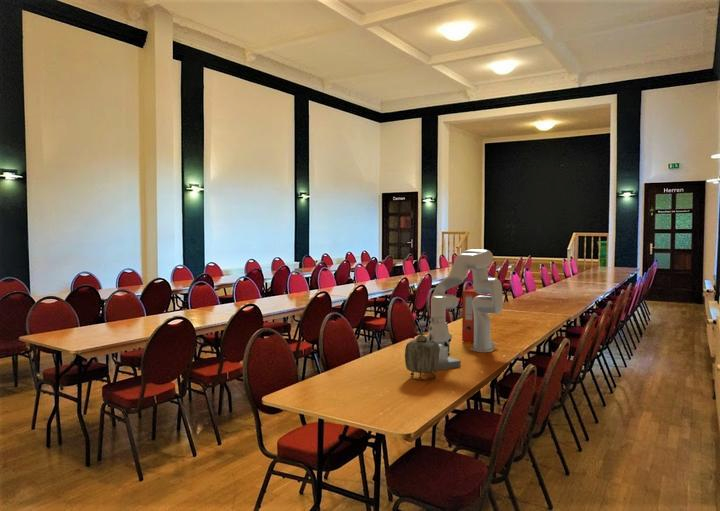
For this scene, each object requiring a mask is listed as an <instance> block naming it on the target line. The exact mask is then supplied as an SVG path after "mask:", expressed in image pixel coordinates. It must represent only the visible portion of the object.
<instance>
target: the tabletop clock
mask: <svg viewBox="0 0 720 511" xmlns="http://www.w3.org/2000/svg"><path fill="white" fill-rule="evenodd" d="M418 328H424V329H426V330H427V332H425V333H423V331H420V332H417V331H416V329H418ZM413 330H414V333H415V334H417V335H418V336H416V338H415V339H412V340H409V341H408V343H406V345H405V349H404V363H405V368H406V370H408V371H409V372H410V376H412V377H413V376H414V375H415V373H418V374H419V376H418V380H420V381H422V380H423V377H422V374H431V377H432V378H433V379H435V378H436V374H434V373H433V372H434V371H435V369H436V368H437V366H438V362H439V349H438V345H437V342H435V341H432V340H429V339H428V340H427V338H426V337H427V336H425V335H427V334H429V328H428V327H426V326H424V325H417V326H416V327H414V329H413Z"/></svg>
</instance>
